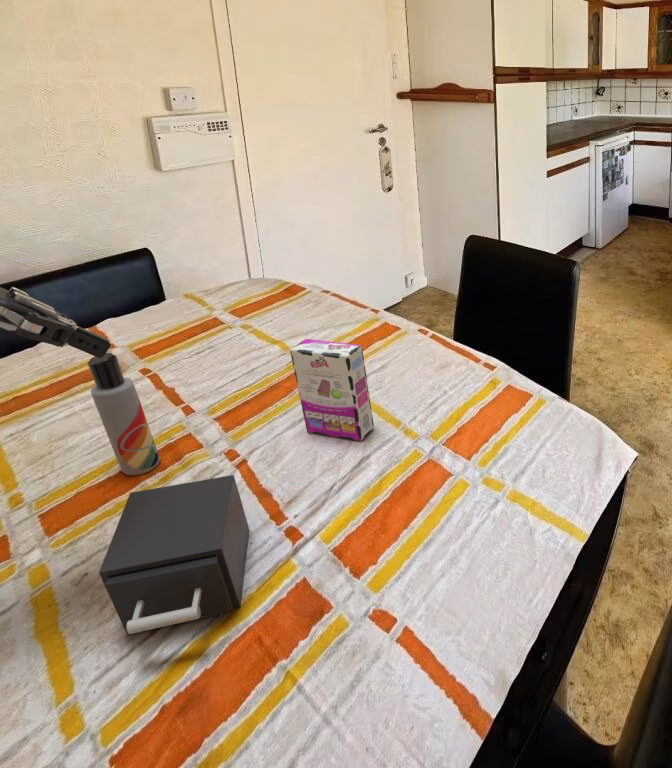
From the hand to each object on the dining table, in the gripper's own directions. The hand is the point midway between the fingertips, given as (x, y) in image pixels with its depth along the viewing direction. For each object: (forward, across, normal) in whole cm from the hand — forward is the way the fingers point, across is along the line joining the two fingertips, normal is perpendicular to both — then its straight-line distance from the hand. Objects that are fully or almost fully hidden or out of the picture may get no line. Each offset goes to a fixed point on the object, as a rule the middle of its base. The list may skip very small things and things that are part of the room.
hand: (105, 349), depth 74 cm
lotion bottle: (+20, +23, +19) cm, 36 cm away
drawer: (+19, -12, +21) cm, 31 cm away
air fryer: (+21, -9, +21) cm, 31 cm away
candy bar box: (+41, +10, -2) cm, 43 cm away
